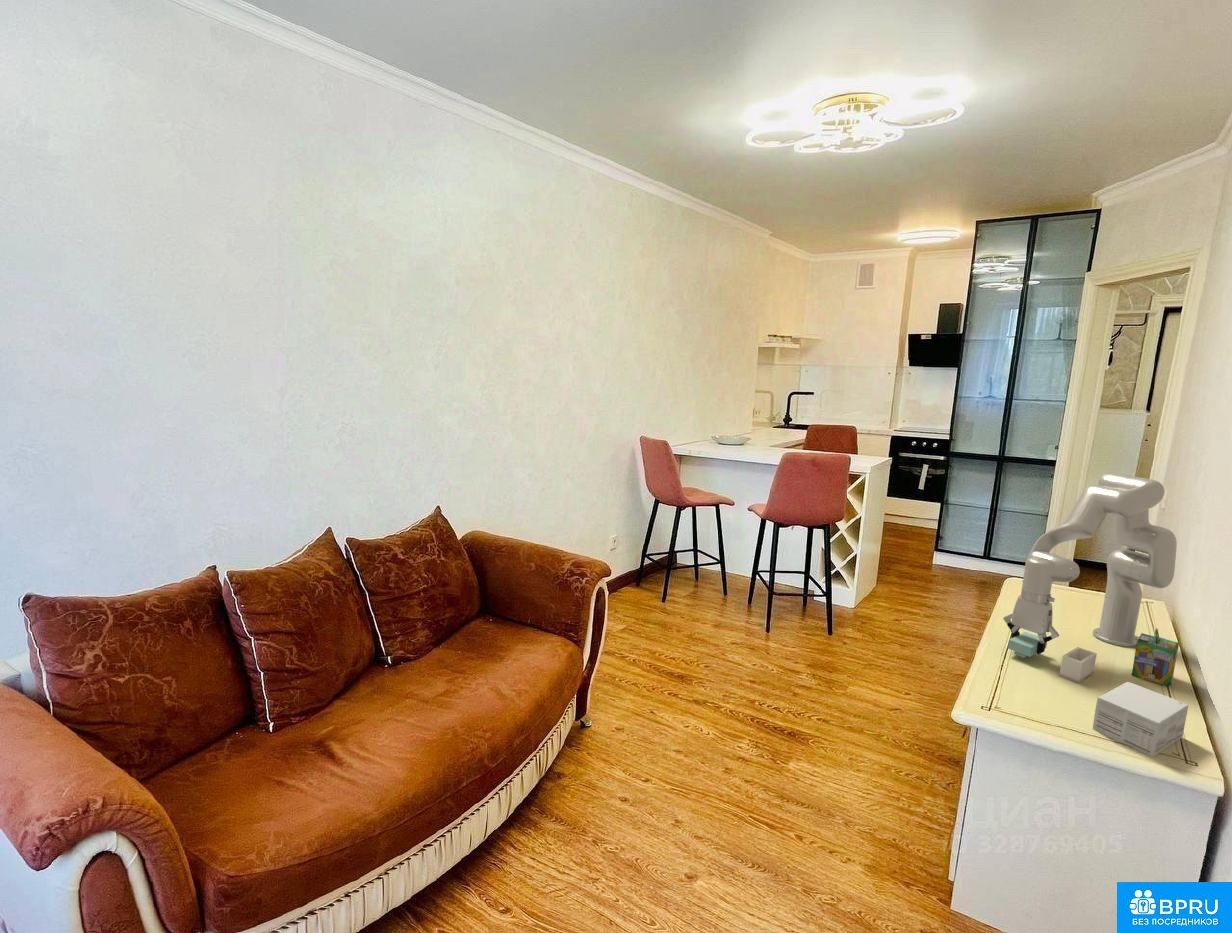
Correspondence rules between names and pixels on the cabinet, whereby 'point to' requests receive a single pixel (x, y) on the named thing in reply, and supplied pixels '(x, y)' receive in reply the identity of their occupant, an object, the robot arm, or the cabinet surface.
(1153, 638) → the chalk box
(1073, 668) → the box
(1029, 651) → the lid
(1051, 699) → the cabinet surface
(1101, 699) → the supplement box
